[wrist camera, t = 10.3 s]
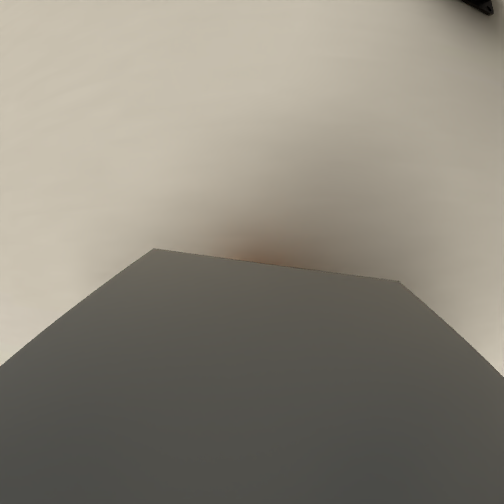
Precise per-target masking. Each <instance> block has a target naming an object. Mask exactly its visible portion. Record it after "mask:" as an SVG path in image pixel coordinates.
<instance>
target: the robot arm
mask: <svg viewBox="0 0 504 504" xmlns="http://www.w3.org/2000/svg"><path fill="white" fill-rule="evenodd" d="M462 1H463V2H465V3H467V4H469V5H471V6H473V7H474V8H476V9H478V10H480V11H481V12H483V13H485V14H487V15H489V16H490V15H492V14H493V13H494V12H493V7H492V3H491V0H462Z"/></svg>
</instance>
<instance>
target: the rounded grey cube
mask: <svg viewBox="0 0 504 504" xmlns="http://www.w3.org/2000/svg"><path fill="white" fill-rule="evenodd" d="M0 504H504V377H503V376H502V375H501V374H500V373H499V372H498V371H497V370H496V369H495V368H494V367H493V366H492V365H491V364H490V363H489V362H488V361H487V360H486V359H485V358H484V357H483V356H481V355H480V354H479V353H478V352H477V351H476V350H475V349H474V348H473V347H472V346H471V345H470V344H469V343H468V342H467V341H466V340H465V339H464V338H462V337H461V336H460V335H459V334H458V333H457V332H456V331H455V330H454V329H453V328H452V327H450V326H449V325H448V324H447V323H446V322H445V321H444V320H443V319H442V318H440V317H439V316H438V315H437V314H436V313H435V312H434V311H433V310H431V309H430V308H429V307H428V306H427V305H426V304H425V303H423V302H422V301H421V300H420V299H419V298H418V297H417V296H415V295H414V294H413V293H412V292H411V291H410V290H408V289H407V288H406V287H405V286H404V285H402V284H401V283H400V282H399V281H393V280H385V279H377V278H369V277H361V276H354V275H346V274H338V273H330V272H323V271H315V270H307V269H300V268H292V267H285V266H277V265H270V264H262V263H255V262H248V261H240V260H233V259H226V258H218V257H211V256H204V255H197V254H190V253H183V252H176V251H169V250H161V249H155V248H154V249H152V250H151V251H149V252H148V253H146V254H145V255H144V256H142V257H141V258H139V259H138V260H137V261H135V262H134V263H132V264H131V265H130V266H128V267H127V268H125V269H124V270H123V271H121V272H120V273H118V274H117V275H116V276H114V277H113V278H112V279H110V280H109V281H108V282H106V283H105V284H103V285H102V286H101V287H99V288H98V289H97V290H95V291H94V292H93V293H91V294H90V295H89V296H87V297H86V298H85V299H83V300H82V301H81V302H80V303H78V304H77V305H76V306H74V307H73V308H72V309H70V310H69V311H68V312H67V313H65V314H64V315H63V316H61V317H60V318H59V319H58V320H56V321H55V322H54V323H52V324H51V325H50V326H49V327H47V328H46V329H45V330H44V331H42V332H41V333H40V334H39V335H37V336H36V337H35V338H34V339H33V340H31V341H30V342H29V343H28V344H26V345H25V346H24V347H23V348H22V349H20V350H19V351H18V352H17V353H16V354H14V355H13V356H12V357H11V358H10V359H9V360H7V361H6V362H5V363H4V364H3V365H2V366H0Z"/></svg>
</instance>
